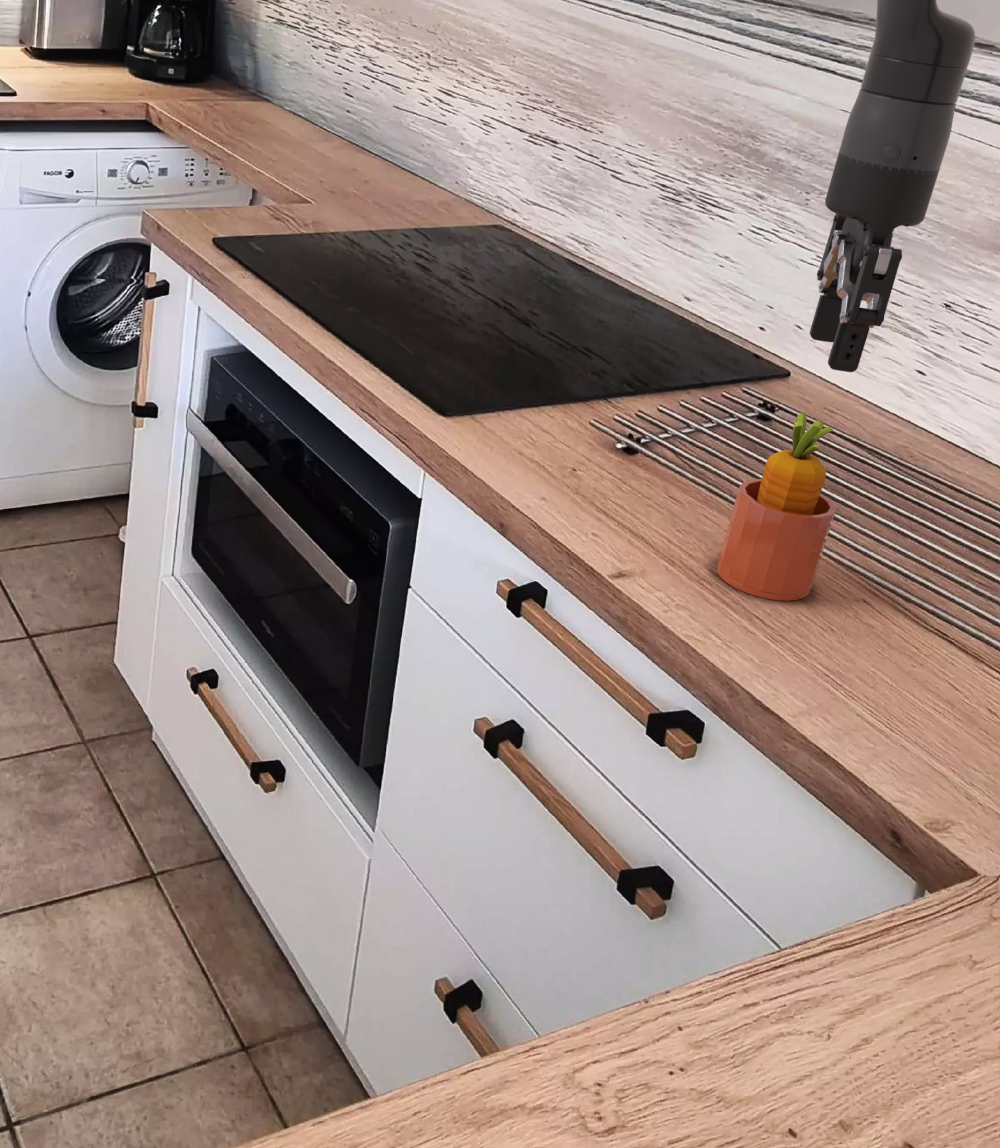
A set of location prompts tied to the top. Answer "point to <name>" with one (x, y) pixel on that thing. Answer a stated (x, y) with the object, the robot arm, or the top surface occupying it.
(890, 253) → the robot arm
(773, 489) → the carrot
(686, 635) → the top surface
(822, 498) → the pot
